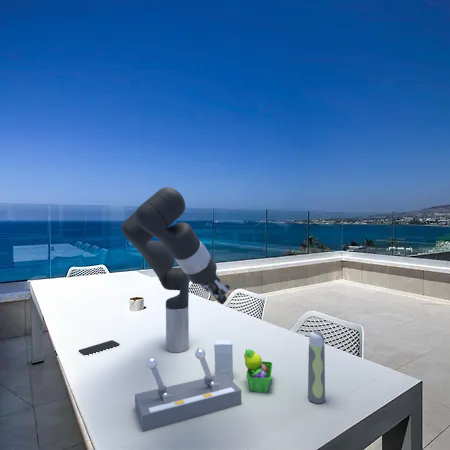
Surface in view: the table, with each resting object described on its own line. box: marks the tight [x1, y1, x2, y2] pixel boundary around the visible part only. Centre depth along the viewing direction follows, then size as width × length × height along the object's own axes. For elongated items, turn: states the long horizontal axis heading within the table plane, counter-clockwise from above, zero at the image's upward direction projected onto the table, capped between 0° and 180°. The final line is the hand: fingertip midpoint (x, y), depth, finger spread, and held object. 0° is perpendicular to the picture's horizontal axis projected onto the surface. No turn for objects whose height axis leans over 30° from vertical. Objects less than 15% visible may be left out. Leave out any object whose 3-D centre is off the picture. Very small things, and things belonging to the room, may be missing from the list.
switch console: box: [134, 374, 242, 432], centre depth 93 cm, size 11×28×6 cm, turn 115°
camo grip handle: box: [307, 330, 326, 404], centre depth 95 cm, size 5×5×20 cm
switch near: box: [145, 356, 168, 398], centre depth 89 cm, size 4×3×12 cm
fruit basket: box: [243, 348, 273, 393], centre depth 104 cm, size 11×9×11 cm
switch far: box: [194, 347, 215, 387], centre depth 95 cm, size 4×3×12 cm
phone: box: [78, 339, 121, 356], centre depth 134 cm, size 7×1×15 cm
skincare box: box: [213, 339, 234, 381], centre depth 109 cm, size 6×4×12 cm
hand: (223, 301), depth 88 cm, fingers closed
